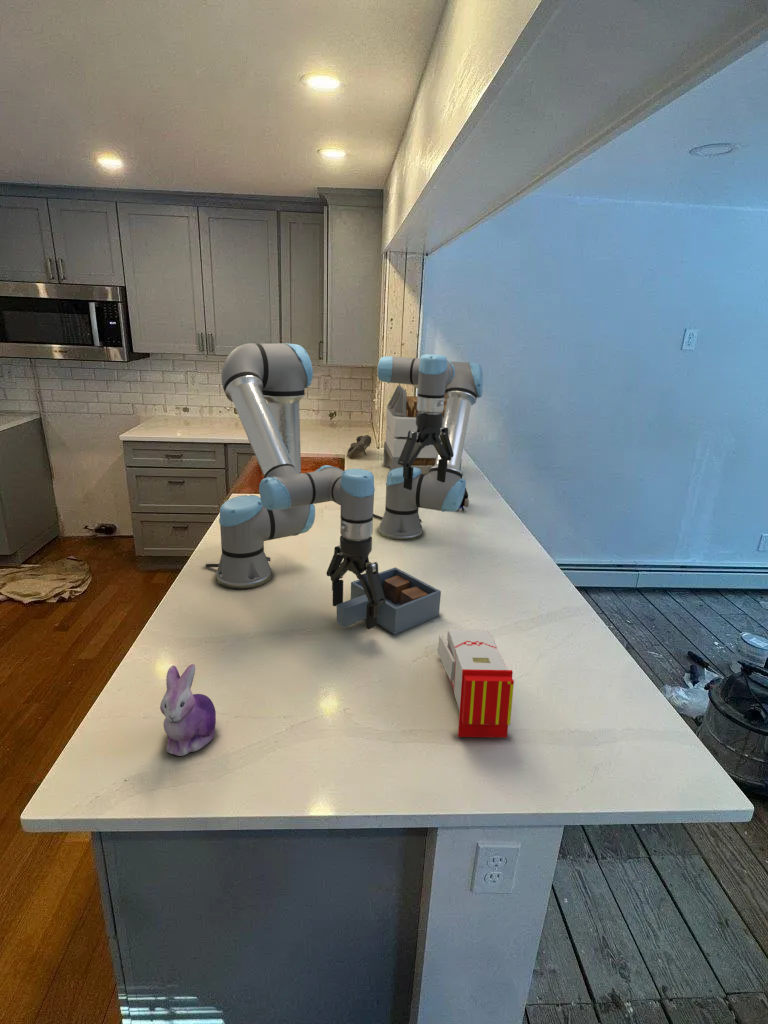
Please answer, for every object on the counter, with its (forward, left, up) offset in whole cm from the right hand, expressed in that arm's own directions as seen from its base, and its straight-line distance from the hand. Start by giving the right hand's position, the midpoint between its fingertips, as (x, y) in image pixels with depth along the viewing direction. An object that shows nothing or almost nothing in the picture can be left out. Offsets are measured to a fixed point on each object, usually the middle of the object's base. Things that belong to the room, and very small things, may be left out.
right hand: (424, 484), depth 165 cm
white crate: (-77, +74, -27) cm, 110 cm away
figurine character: (-32, +53, -27) cm, 67 cm away
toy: (+50, -33, -27) cm, 66 cm away
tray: (+15, -28, -27) cm, 42 cm away
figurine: (+28, -84, -27) cm, 92 cm away
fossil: (-121, +72, -27) cm, 143 cm away
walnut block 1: (+11, -19, -26) cm, 34 cm away
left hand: (+15, -37, -24) cm, 46 cm away
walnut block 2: (+19, -20, -26) cm, 38 cm away
